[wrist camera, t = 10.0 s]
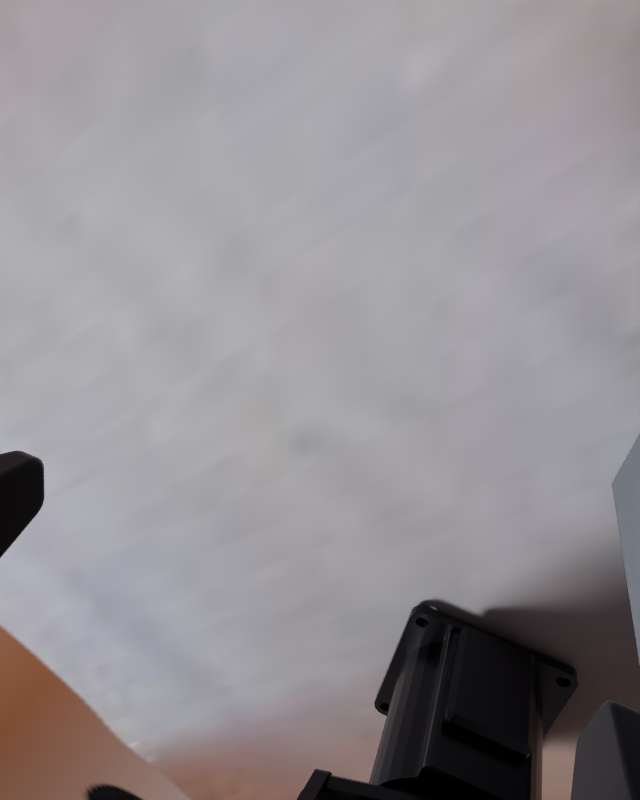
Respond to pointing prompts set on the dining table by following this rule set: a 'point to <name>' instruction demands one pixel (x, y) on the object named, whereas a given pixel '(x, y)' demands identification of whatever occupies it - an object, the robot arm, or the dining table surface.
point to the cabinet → (630, 528)
